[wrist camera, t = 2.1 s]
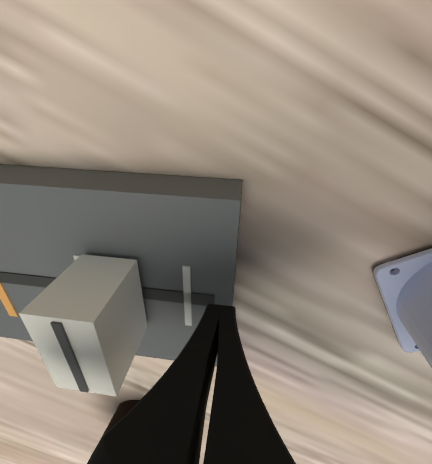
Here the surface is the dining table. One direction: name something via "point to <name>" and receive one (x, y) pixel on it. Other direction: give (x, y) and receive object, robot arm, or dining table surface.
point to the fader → (89, 323)
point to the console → (121, 242)
